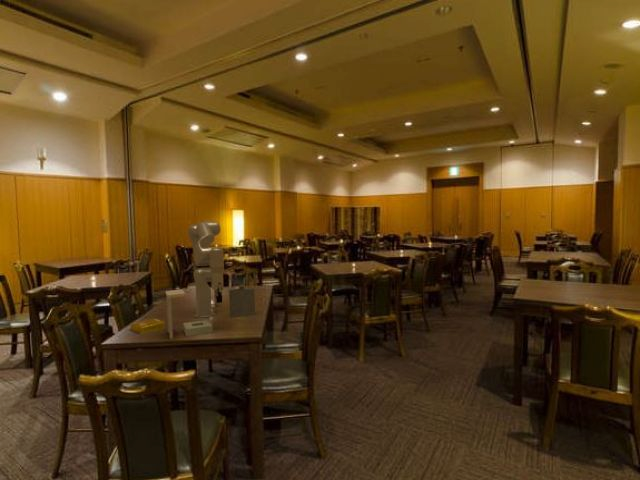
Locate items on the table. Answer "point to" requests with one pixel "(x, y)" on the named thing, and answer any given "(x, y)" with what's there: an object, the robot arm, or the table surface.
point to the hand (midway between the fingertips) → (218, 301)
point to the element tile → (147, 326)
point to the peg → (217, 305)
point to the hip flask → (242, 302)
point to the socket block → (189, 327)
